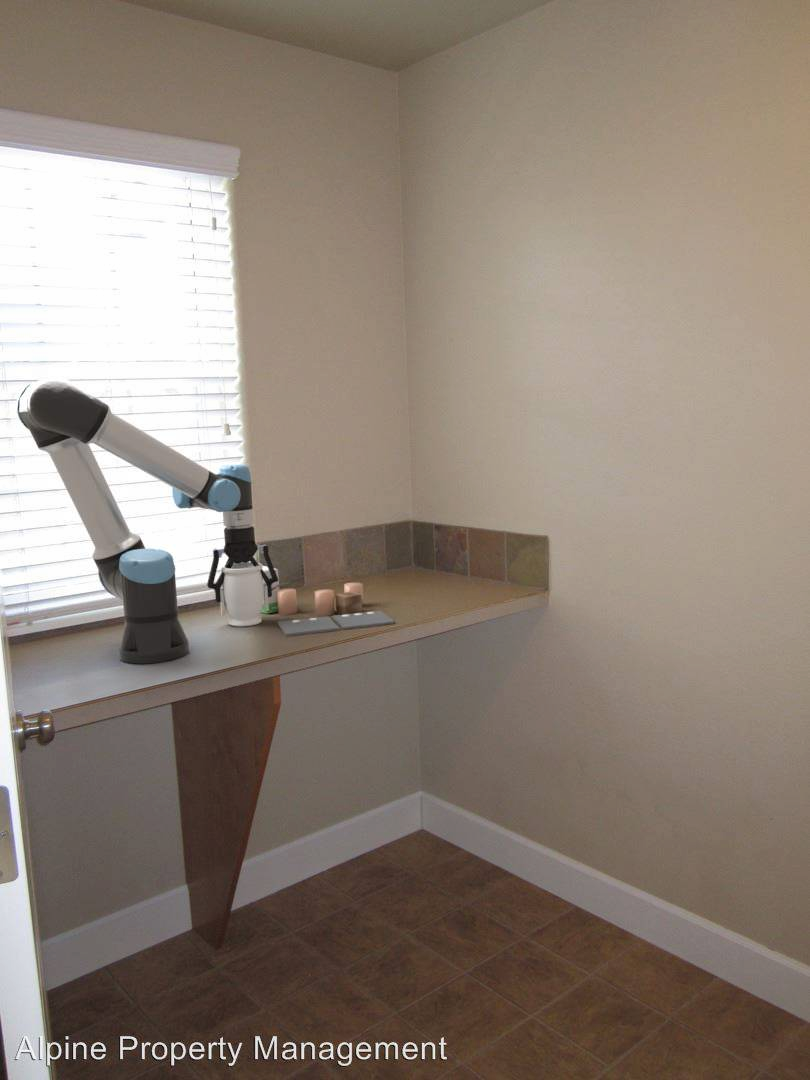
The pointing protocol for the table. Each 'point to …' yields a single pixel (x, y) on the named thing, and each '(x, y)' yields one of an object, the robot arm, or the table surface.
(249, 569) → the jar
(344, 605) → the walnut block
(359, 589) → the pink rounded piece
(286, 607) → the tan rounded block
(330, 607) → the pink rounded piece
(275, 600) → the ink box
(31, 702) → the table surface
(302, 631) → the pad two
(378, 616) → the pad three
